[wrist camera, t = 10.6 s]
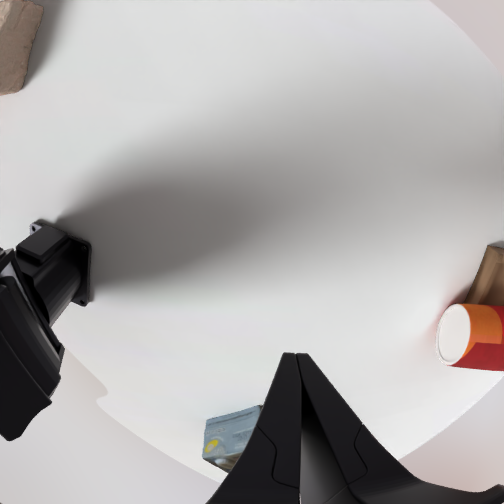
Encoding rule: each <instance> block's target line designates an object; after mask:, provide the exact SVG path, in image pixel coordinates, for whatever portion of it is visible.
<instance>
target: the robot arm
mask: <svg viewBox="0 0 504 504" xmlns="http://www.w3.org/2000/svg"><path fill="white" fill-rule="evenodd" d="M35 228H36V229H35ZM84 247H86V249H84ZM90 259H91V245H90V244H89V243H88V242H87V241H84V240H82V239H79V238H76V237H74V236H71V235H69V234H67V233H65V232H63V231H60V230H58V229H55V228H53V227H50V226H48V225H43V224H40V223H38V222H33V223H32V224H31V225H30V236H29V237H27V238H26V239H25V240H23V241H22V242H21V243H19V244H18V245H17V246H16V251H14V249H13V248H11V249H8V250H3V248H0V435H1V436H3V437H4V438H5V439H6V440H7V441H12V440H14V439H16V438H18V437H20V436H21V435H22V434H23V432H24V430H25V429H26V427H27V426H28V424H29V423H30V422H31V420H32V419H33V418H34V417H35V416H36V415H37V414H38V413H39V412H40V411H41V410H43V409H44V408H46V407H47V406H49V405H50V404H51V403H52V401H51V400H50V397H51V396H52V395H53V393H54V391H55V389H56V388H57V386H58V384H59V382H60V379H61V376H60V374H59V372H60V367H61V363H62V359H63V355H64V350H65V348H64V346H63V345H62V343H60V342H59V340H58V339H57V337H56V336H55V334H54V332H53V331H52V329H51V327H52V325H53V324H54V323H55V321H56V320H57V319H58V317H59V316H60V315H61V313H62V312H63V311H64V310H65V308H66V307H67V306H68V304H69V303H70V302H74V303H76V304H78V305H80V306H83V307H85V306H87V304H88V302H89V277H90ZM299 489H300V490H299ZM300 496H301V504H502V503H503V502H504V486H503V485H500V484H498V485H495V486H494V487H492V488H490V489H488V490H486V491H483V492H467V491H462V490H457V489H452V488H448V487H444V486H439V485H435V484H431V483H428V482H425V481H422V480H420V479H418V478H417V477H415V476H414V475H413V474H411V473H410V472H409V471H408V470H407V469H406V468H405V467H404V466H403V465H401V464H400V463H399V462H398V461H397V460H396V459H395V458H394V457H393V456H392V455H391V454H390V453H389V452H388V451H387V450H386V449H385V448H384V447H383V446H382V445H381V444H380V443H379V442H378V441H377V440H376V438H375V437H374V436H373V435H372V434H371V433H370V431H369V430H368V429H367V428H366V426H365V425H364V424H362V422H361V420H360V419H359V418H358V417H357V415H356V414H355V413H354V412H353V410H352V409H351V408H350V407H349V405H348V404H347V403H346V401H345V400H344V399H343V398H342V396H341V395H340V394H339V393H338V391H337V390H336V389H335V388H334V386H333V385H332V384H331V382H330V381H329V380H328V379H327V377H326V376H325V375H324V374H323V372H322V371H321V370H320V368H319V367H318V366H317V365H316V363H315V362H314V361H313V359H312V358H311V357H310V356H309V354H307V353H296V354H295V353H286V352H284V353H283V354H282V357H281V360H280V363H279V365H278V368H277V371H276V373H275V376H274V379H273V381H272V384H271V387H270V389H269V392H268V394H267V397H266V399H265V402H264V405H263V407H262V410H261V412H260V415H259V417H258V419H257V422H256V424H255V427H254V429H253V431H252V434H251V436H250V438H249V440H248V442H247V444H246V447H245V449H244V450H243V452H242V454H241V455H240V457H239V459H238V460H237V462H236V463H235V465H234V466H233V468H232V469H231V471H230V472H229V473H228V475H227V476H226V478H225V479H224V481H223V482H222V484H221V485H220V487H219V488H218V489H217V490H216V492H215V493H214V494H213V496H212V497H211V498H210V499H209V500H208V502H207V503H206V504H300ZM0 504H2V503H0Z"/></svg>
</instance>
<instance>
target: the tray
mask: <svg viewBox="0 0 504 504" xmlns="http://www.w3.org/2000/svg"><path fill="white" fill-rule="evenodd" d="M464 304H478V305H494V306H504V248H499V247H494V246H489V245H488V246H487V249H486V252H485V255H484V257H483V260H482V262H481V265H480V268H479V270H478V272H477V275H476V277H475V280H474V282H473V284H472V287H471V289H470V291H469V293H468V296H467V298H466V300H465V302H464Z"/></svg>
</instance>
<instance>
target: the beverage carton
mask: <svg viewBox="0 0 504 504" xmlns="http://www.w3.org/2000/svg"><path fill="white" fill-rule="evenodd" d="M261 410H262V407H261V406H259V405H257V406H254V407H251V408H248V409H245V410H242V411H238V412H235V413H231V414H227V415H224V416H220V417H216V418H213V419H209V420H207V421H206V429H205V432H204V447H203V454H202V458H203V459H204V460H206V461H208V462H209V463H211V464H213V465H214V466H216V467H219V468H220V469H222V470H223V471H225V472H227V473H229V472H230V471H231V469H232V468H233V466H234V465H235V463H236V462H237V460H238V459H239V457H240V455H241V454H242V452H243V450H244V449H245V447H246V444H247V442H248V440H249V438H250V436H251V434H252V431H253V429H254V427H255V424H256V422H257V419H258V417H259V415H260V412H261ZM299 490H300V489H299Z"/></svg>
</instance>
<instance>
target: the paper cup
mask: <svg viewBox="0 0 504 504" xmlns="http://www.w3.org/2000/svg"><path fill="white" fill-rule="evenodd" d="M435 344H436V352H437V356H438V358H439V360H440V361H441V362H442V363H443V364H445V365H447V366H453V367H460V368H470V369H481V370H491V371H504V306H494V305H478V304H454V305H451V306H450V307H449V308H447V309H446V311H445V312H444V313H443V315H442V317H441V319H440V321H439V324H438V328H437V332H436V341H435Z"/></svg>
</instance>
